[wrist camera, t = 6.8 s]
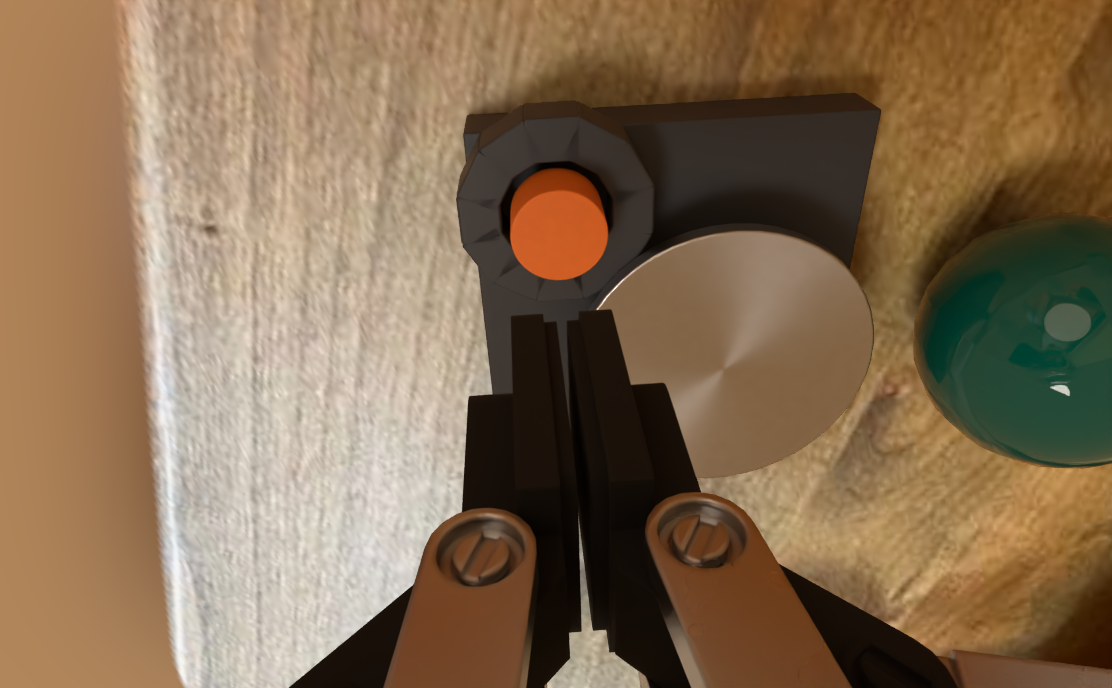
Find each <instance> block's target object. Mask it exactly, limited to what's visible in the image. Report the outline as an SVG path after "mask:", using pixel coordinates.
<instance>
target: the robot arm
mask: <svg viewBox="0 0 1112 688" xmlns="http://www.w3.org/2000/svg"><path fill="white" fill-rule="evenodd" d="M566 326H567V356H568V385H569V414H570V423H569V415H568V407H567V400H566V392H565V384H564V376H563V368H562V360H561V352H560V345H559V337H558V329H557V322H556V321H554V322H544V318H543V314H530V315H515V316H511V347H512V384H513V393H507V394H493V395H478V396H469V400H468V414H467V432H466V450H465V467H464V485H463V503H462V513H459V514H456V515H454V516H453V517H451V518H450V519H448V520H446V521H445V522H443V523H442V524H441V525H440V526H439V527H438V528H437V529H436V530H435V531H434V532H433V533H432V534H431V536H430V538H429V540H428V542H427V544H426V546H425V549H424V552H423V556H422V559H421V562H420V566H419V569H418V572H417V576H416V579H415V583H414V585H413V586H411V587H410V588H409V589H408V590H407V591H405V592H404V593H403V594H402V595H401V596H399V597H398V598H397V599H396V600H394V601H393V602H392V603H391V604H390V605H388V606H387V607H386V608H385V609H384V610H382V611H381V612H380V613H379V614H378V615H376V616H375V617H374V618H373V619H371V620H370V621H369V622H368V623H367V624H365V625H364V626H363V627H362V628H361V629H359V630H358V631H357V632H356V633H354V634H353V635H352V636H351V637H350V638H348V639H347V640H346V641H345V642H344V643H342V644H341V645H340V646H339V647H338V648H336V649H335V650H334V651H333V652H331V653H330V654H329V655H328V656H327V657H325V658H324V659H323V660H322V661H321V662H319V663H318V664H317V665H316V666H314V667H313V668H312V669H311V670H310V671H308V672H307V673H306V674H305V675H304V676H302V677H301V678H300V679H299V680H298V681H296V682H295V683H294V684H293V685H291V686H290V687H289V688H547V683H548V681H549V680H550V679H551V678H552V677H553V676H554V675H555V674H556V673H557V672H558V671H559V669H560V668H561V667H562V666H563V665H564V664H565V663H566V662H567V661H568V660H569V659H570V646H569V633H570V632H581V594H580V559H579V524H580V532H581V540H582V548H583V556H584V564H585V572H586V580H587V589H588V597H589V605H590V613H591V621H592V628H593V631H595V630H606V631H607V638H608V645H609V652H615V654H616V655H617V656H619V657H620V658H621V659H623V660H624V661H625V662H627V663H628V664H630V665H631V666H632V667H634V668H635V669H636V670H638V671H639V673H638V675H639V681H640V687H641V688H1112V670H1109V669H1102V668H1094V667H1086V666H1078V665H1070V664H1063V663H1055V662H1047V661H1039V660H1031V659H1024V658H1016V657H1008V656H1000V655H992V654H985V653H977V652H969V651H961V650H952V653H951V655H950V657H949V658H948V657H941V656H936V655H935V654H934V653H933V652H932V651H931V650H929V649H928V648H926V647H925V646H923V645H922V644H921V643H919V642H918V641H916V640H915V639H913V638H912V637H910V636H908V635H906V634H904V633H903V632H901V631H899V630H897V629H895V628H894V627H892V626H890V625H888V624H886V623H885V622H883V621H881V620H879V619H877V618H876V617H874V616H872V615H870V614H868V613H866V612H865V611H863V610H861V609H859V608H857V607H856V606H854V605H852V604H850V603H848V602H847V601H845V600H843V599H841V598H839V597H838V596H836V595H834V594H832V593H830V592H829V591H827V590H825V589H823V588H821V587H820V586H818V585H816V584H814V583H812V582H811V581H809V580H807V579H805V578H803V577H802V576H800V575H798V574H796V573H794V572H793V571H791V570H789V569H787V568H785V567H784V566H782V565H780V564H778V562H777V560H776V559H775V557H774V555H773V554H772V552H771V550H770V549H769V547H768V545H767V544H766V542H765V540H764V539H763V537H762V535H761V534H760V532H759V530H758V528H757V527H756V525H755V523H754V522H753V521H752V519H751V518H750V517H749V516H748V515H747V513H746V512H745V511H744V510H743V509H741V508H740V507H739V506H737V505H736V504H734V503H733V502H731V501H730V500H727V499H724V498H722V497H719V496H717V495H714V494H707V493H701V491H700V488H699V484H698V481H697V478H696V475H695V472H694V469H693V466H692V463H691V460H690V457H689V453H688V450H687V447H686V444H685V441H684V438H683V435H682V432H681V429H680V426H679V423H678V419H677V416H676V413H675V410H674V407H673V404H672V401H671V398H670V395H669V392H668V389H667V387H666V384H664V383H649V384H635V385H631V383H630V379H629V375H628V371H627V367H626V363H625V359H624V355H623V351H622V347H621V343H620V339H619V336H618V332H617V328H616V324H615V320H614V316H613V312H612V310H611V309H605V310H590V311H579V313H578V320H569V321H567V324H566ZM578 516H579V524H578Z"/></svg>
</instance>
